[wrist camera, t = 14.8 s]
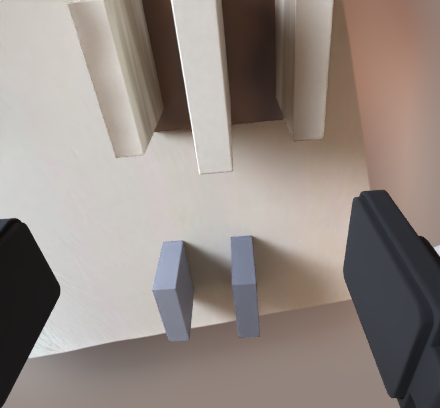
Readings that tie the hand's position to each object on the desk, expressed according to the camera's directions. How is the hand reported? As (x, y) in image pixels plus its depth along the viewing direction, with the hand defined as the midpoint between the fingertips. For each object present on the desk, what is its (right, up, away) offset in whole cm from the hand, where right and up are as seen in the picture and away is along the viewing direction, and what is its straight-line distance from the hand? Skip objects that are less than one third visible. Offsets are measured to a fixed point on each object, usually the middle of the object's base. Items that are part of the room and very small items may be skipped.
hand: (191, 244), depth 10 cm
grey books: (0, -8, +42) cm, 43 cm away
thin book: (0, +16, +23) cm, 28 cm away
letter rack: (0, +17, +24) cm, 30 cm away
